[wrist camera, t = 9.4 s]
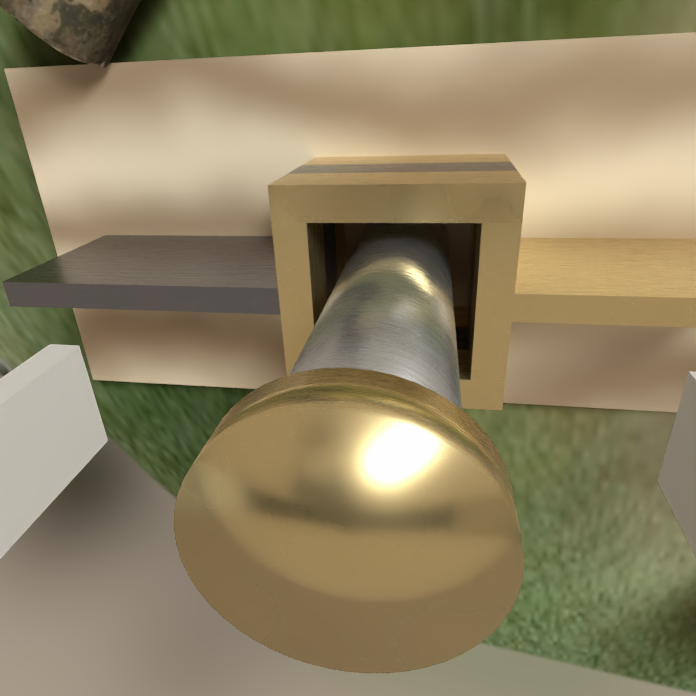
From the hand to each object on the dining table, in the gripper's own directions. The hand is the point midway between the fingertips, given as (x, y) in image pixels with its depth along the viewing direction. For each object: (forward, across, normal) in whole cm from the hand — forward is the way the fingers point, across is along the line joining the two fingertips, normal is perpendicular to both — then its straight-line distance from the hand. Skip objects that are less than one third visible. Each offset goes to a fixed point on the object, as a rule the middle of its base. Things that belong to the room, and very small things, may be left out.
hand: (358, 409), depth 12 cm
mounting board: (+15, 0, -1) cm, 15 cm away
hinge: (+14, 0, -1) cm, 14 cm away
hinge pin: (+14, 0, 0) cm, 14 cm away
